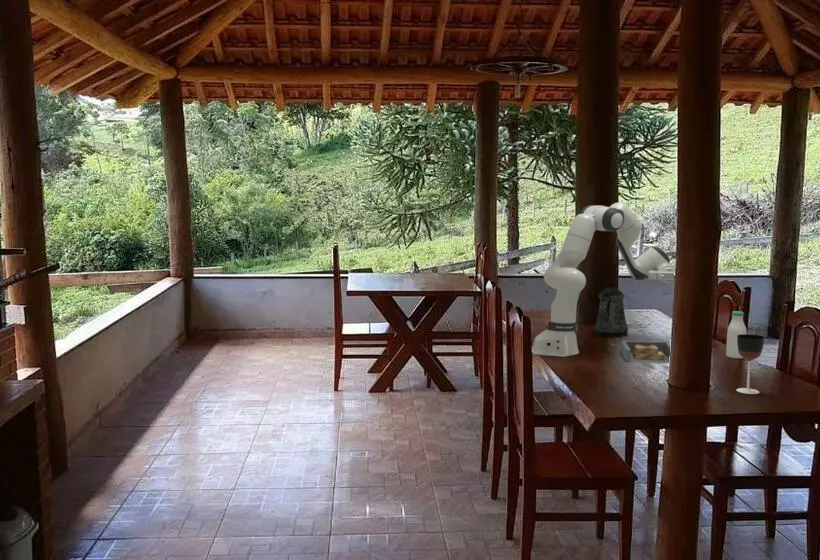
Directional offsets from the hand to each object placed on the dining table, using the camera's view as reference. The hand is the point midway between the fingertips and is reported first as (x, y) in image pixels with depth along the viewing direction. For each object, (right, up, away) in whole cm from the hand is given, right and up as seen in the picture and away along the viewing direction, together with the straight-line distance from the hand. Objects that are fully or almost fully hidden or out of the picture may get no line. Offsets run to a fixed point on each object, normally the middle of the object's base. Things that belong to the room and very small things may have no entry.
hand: (674, 277), depth 310 cm
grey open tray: (-17, -36, -14) cm, 42 cm away
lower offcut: (-17, -34, -15) cm, 41 cm away
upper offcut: (-18, -32, -15) cm, 40 cm away
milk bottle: (+24, -35, -7) cm, 43 cm away
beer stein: (-16, -29, +42) cm, 54 cm away
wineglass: (+4, -41, -60) cm, 73 cm away
